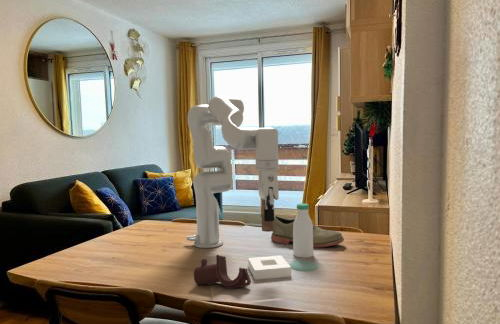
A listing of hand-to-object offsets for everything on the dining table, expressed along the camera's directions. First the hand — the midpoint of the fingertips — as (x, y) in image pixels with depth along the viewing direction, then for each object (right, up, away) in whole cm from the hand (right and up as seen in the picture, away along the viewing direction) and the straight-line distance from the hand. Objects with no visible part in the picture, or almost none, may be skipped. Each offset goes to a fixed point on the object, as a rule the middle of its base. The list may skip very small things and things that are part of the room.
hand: (267, 218), depth 118 cm
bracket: (-14, -20, -9) cm, 26 cm away
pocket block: (0, -18, +1) cm, 18 cm away
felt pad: (+13, -18, +5) cm, 23 cm away
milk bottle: (+15, -17, +18) cm, 29 cm away
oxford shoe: (+18, -16, +33) cm, 41 cm away
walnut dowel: (0, -4, 0) cm, 4 cm away
